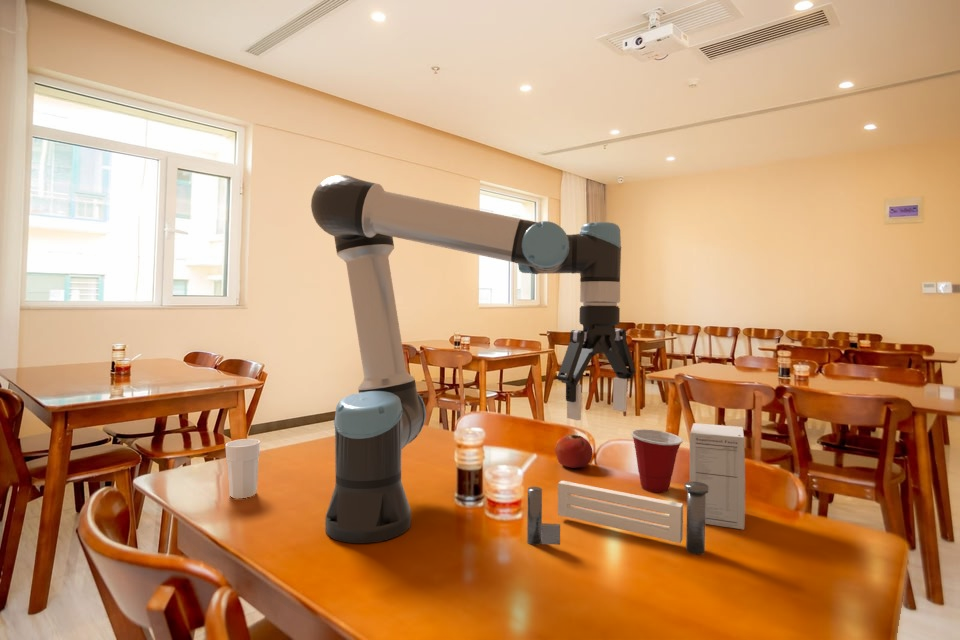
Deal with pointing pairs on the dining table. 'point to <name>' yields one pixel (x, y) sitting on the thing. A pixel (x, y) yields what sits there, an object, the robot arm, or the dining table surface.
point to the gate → (621, 510)
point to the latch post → (539, 521)
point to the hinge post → (696, 517)
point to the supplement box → (720, 472)
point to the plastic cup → (655, 458)
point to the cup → (242, 467)
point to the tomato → (573, 451)
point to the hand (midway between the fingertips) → (597, 414)
